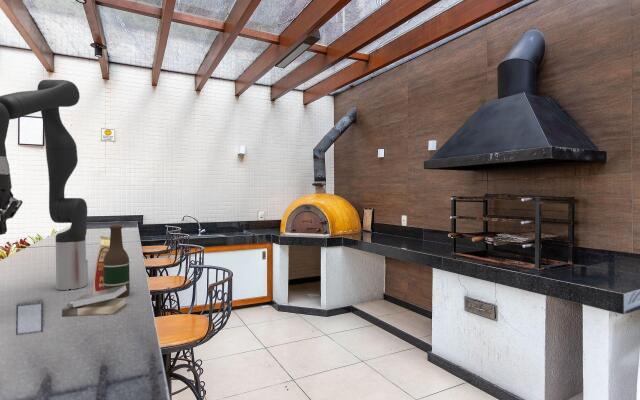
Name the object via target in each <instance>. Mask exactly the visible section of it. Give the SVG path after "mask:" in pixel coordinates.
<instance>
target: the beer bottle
mask: <svg viewBox="0 0 640 400" xmlns="http://www.w3.org/2000/svg"><path fill="white" fill-rule="evenodd" d="M109 229H110V236H109V238H110V246H109V250H108V252H107V253H106V254H105V257H104V261H103V288H104V290H105V289H110V288H114V287H119V286H124V285H126V289H127V290H126V291H125V292H123V293H122V294H120V295H119V296H117V297H116V298H126V297H129V296H130V291H131V290H130V289H131V288H130V285H131V284H130V280H131V279H130V257H129V255H128V253H127V251H126V250H125V248H124V245H123V240H122V239H123V235H122V234H123V233H122V232H123V231H122V229H123V226H122V225H121V224H113V225H109ZM113 299H115V298H113Z"/></svg>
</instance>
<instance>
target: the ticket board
mask: <svg viewBox="0 0 640 400" xmlns="http://www.w3.org/2000/svg"><path fill="white" fill-rule="evenodd" d="M125 306H126V297H124V298H115V299H108V300H104V301H99V302H95V303H91V304H86V305H82V306H77V307H73V306H72V307H68V306H65V307H64V308H62V309H61V317H72V316H73V317H75V316H77V317H78V316H92V315H112V314H115V313H116V312H118V311H119V310H121V308H123V307H125Z"/></svg>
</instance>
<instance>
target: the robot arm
mask: <svg viewBox="0 0 640 400" xmlns="http://www.w3.org/2000/svg"><path fill="white" fill-rule="evenodd" d="M79 90H80V89H78V86H77V85H76V84H75V83H74V82H72V81H70V80H66V79H42V80H41V81H39V83H38V84H37V88H36V90H25V91H16V92H11V93H7V94H3V95H0V236H2V235H5V234H6V233H7V231H8V227H7V220H9V219H12V218H14V217H15V215H16V214H17V212H18V211H19V209H20V208H21V206H22V204H23V203H24V202H23V200H22V199H17V198H16V197H14V194H13V193H12V188H13V186H12V180H11V179H12V178H11V172H10V163H9V161H8V157H7V149H6V139H7V135H8V131H9V130H8V129H9V124H10V120H15V119H20V118H22V117H25V116H28V115H32V114H36V113H39V112H40V114H41V118H42V125H43V131H44V140H45V157H46V165H47V173H48V192H49V193H48V211H49V213H48V214H49V217H50V219H51V220H52V222H53V223H55V224H56V223H57V224H67V223H69V224H70V227H69V228H68V229H67V230H65V231H62V232H59V233H57V234H56V235H55V289H56V290H57V291H70V290H69V289H71V290H77V288H78V289H81V288H84V287H86V286H87V285H89V270H88V269H89V263H88V259H87V248H86V246H87V245H86V244H87V243H86V241H87V240H86V237H87V236H86V235H87V230H88V229H87V228H88V227H87V226H88V225H87V224H88V205H87V202H86V200H85V199H84V198H82V197H65V188H66V184H67V182H68V180H69V178H70V176H72V174H73V172H74V171H75V169H76V167H77V165H78V148H77V144H76V143H77V142H76V141H75V140H74V138H73V136H72V135H71V133H70V132H69V131H68V130H67V128H66V127H65V125H64V124H63V122H62V120H61V119H62V118H61V115H60V107H61V108H68V107H74V106H75V105H77V104H78V103H79V101H80V95H81V94H80V91H79Z"/></svg>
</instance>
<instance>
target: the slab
mask: <svg viewBox="0 0 640 400" xmlns="http://www.w3.org/2000/svg"><path fill="white" fill-rule="evenodd" d="M126 290H127V289H126V285H124V286H119V287H114V288H110V289H105V290H101V291H96V292H93V291H92V292H87V293H86V294H83V295H81V296H79V297H78V298H76V299H75V300H72V301H70V302H69V303H68V304H67V306H68V307H72V306H73V307H77V306H82V305H86V304H91V303H95V302H99V301H104V300H108V299H113V298H116V297H117V296H119V295H120V294H122V293H123V292H125V291H126ZM67 306H66V307H67Z"/></svg>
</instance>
